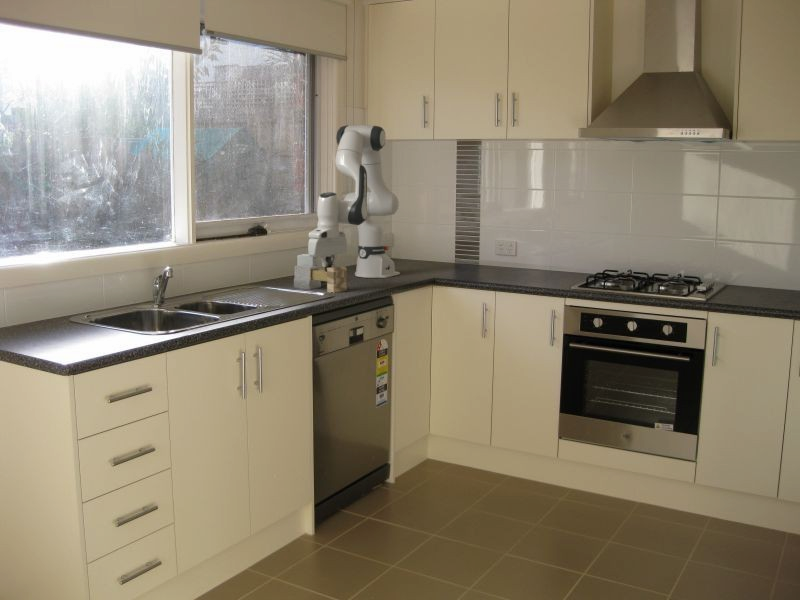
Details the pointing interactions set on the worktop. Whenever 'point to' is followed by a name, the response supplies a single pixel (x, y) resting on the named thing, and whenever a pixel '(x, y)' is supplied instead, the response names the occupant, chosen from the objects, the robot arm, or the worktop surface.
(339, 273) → the beech socket block
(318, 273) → the brass slip tube
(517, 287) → the worktop surface
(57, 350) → the worktop surface
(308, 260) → the supplement box
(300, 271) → the aluminium sleeve
